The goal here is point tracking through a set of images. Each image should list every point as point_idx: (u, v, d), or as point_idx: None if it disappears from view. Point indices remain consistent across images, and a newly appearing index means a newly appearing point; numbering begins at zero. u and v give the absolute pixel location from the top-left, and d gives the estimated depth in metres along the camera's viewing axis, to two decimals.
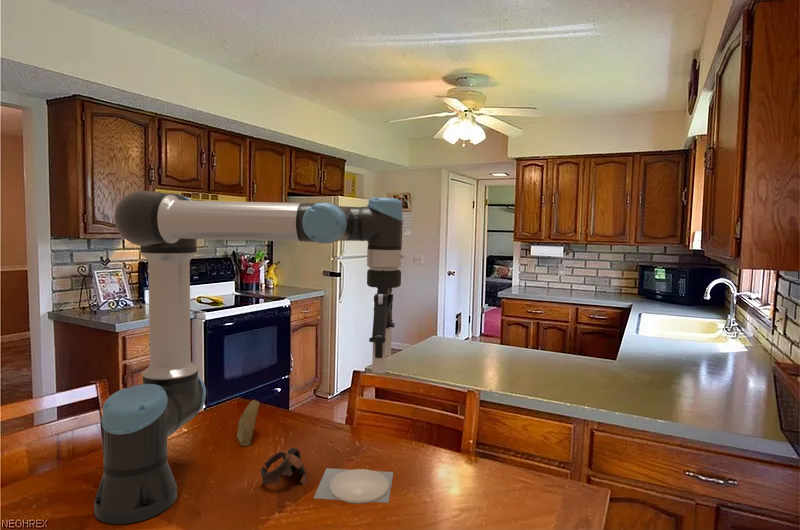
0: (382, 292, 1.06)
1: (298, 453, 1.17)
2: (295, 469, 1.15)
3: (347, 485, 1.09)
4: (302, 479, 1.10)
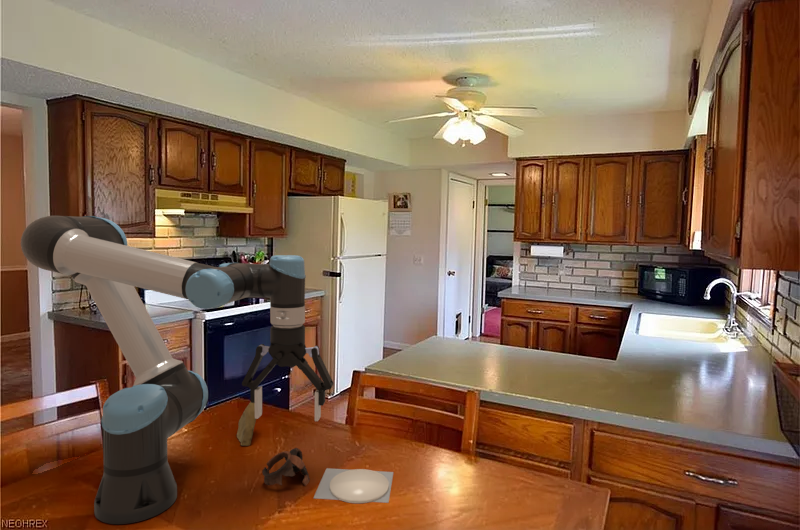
0: None
1: (300, 453, 1.17)
2: (297, 470, 1.15)
3: (347, 485, 1.09)
4: (304, 480, 1.10)
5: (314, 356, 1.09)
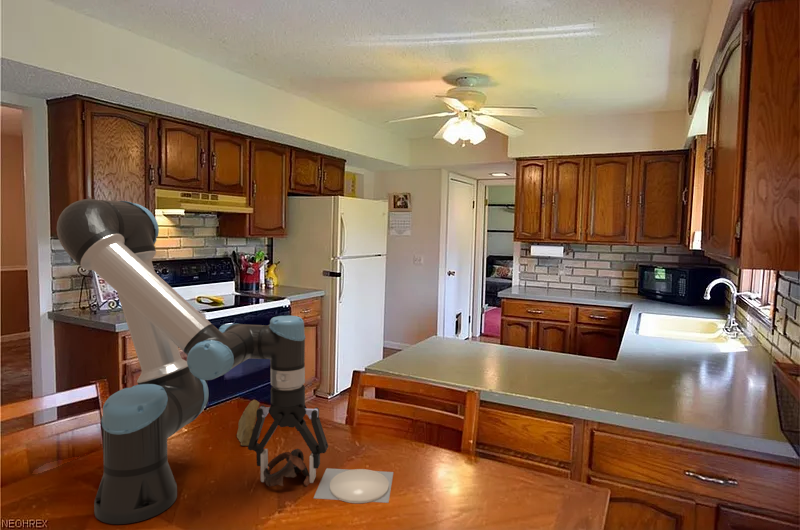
0: None
1: (301, 454, 1.17)
2: (298, 470, 1.15)
3: (347, 485, 1.09)
4: (305, 481, 1.10)
5: (313, 419, 1.10)
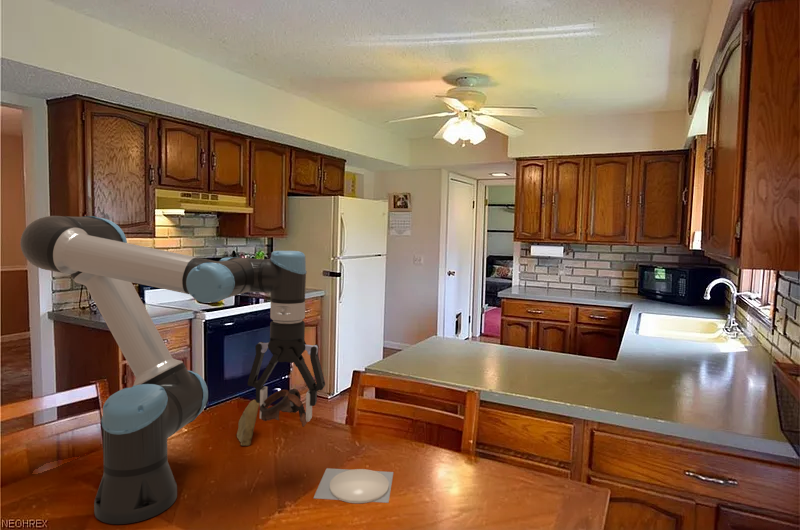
0: None
1: (298, 394, 1.16)
2: (295, 410, 1.14)
3: (347, 485, 1.09)
4: (302, 417, 1.09)
5: (312, 355, 1.09)
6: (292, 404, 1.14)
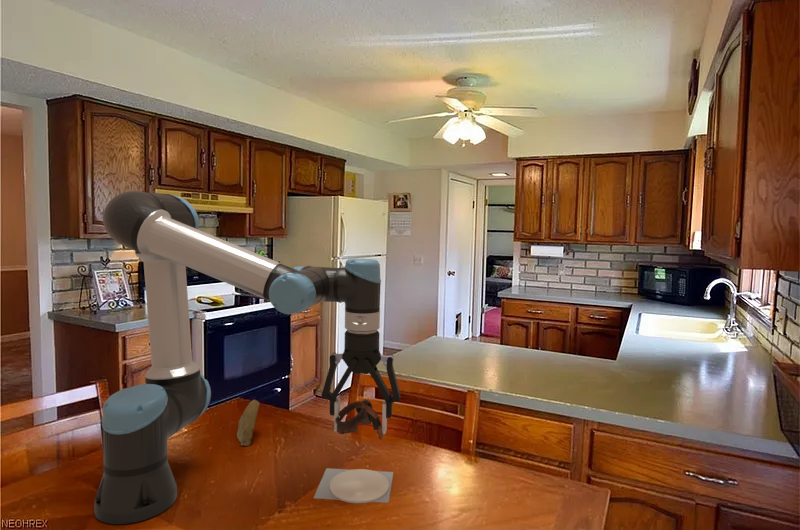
0: None
1: (370, 405, 1.13)
2: None
3: (347, 485, 1.09)
4: (379, 430, 1.06)
5: (389, 365, 1.06)
6: None
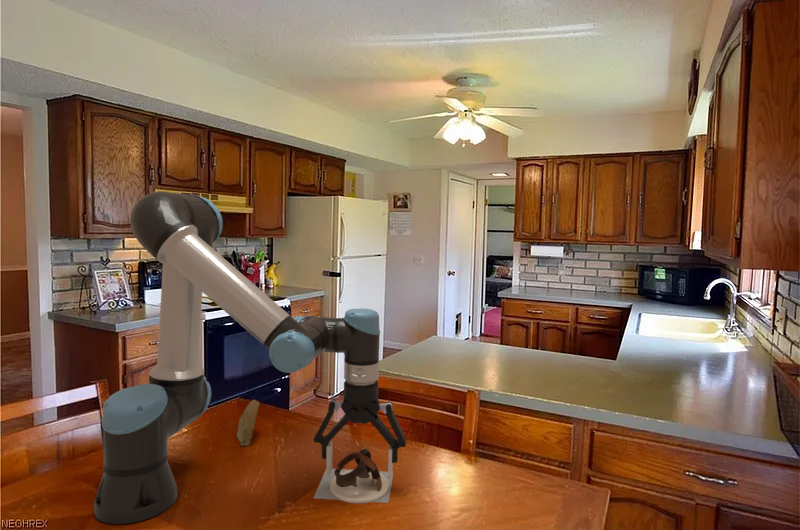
0: None
1: (369, 454, 1.14)
2: (367, 471, 1.12)
3: None
4: (378, 481, 1.06)
5: (388, 413, 1.07)
6: None
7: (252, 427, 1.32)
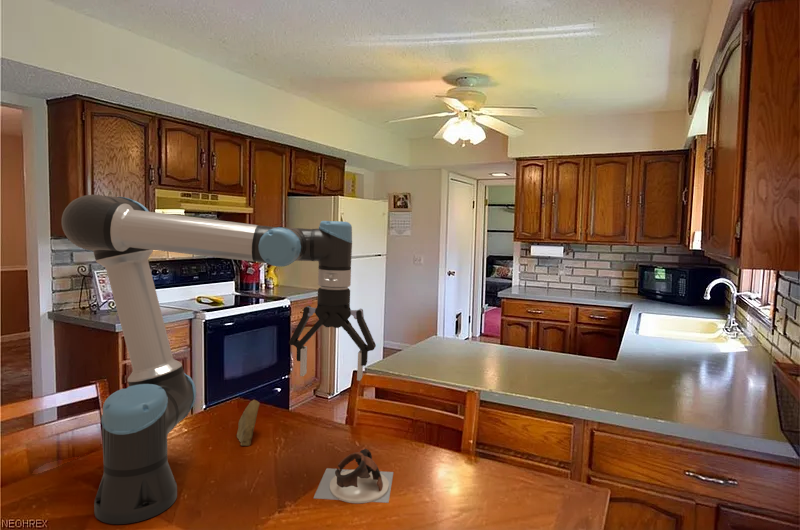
0: None
1: (370, 454, 1.14)
2: (367, 471, 1.12)
3: None
4: (378, 482, 1.06)
5: (358, 318, 1.14)
6: None
7: (252, 427, 1.32)
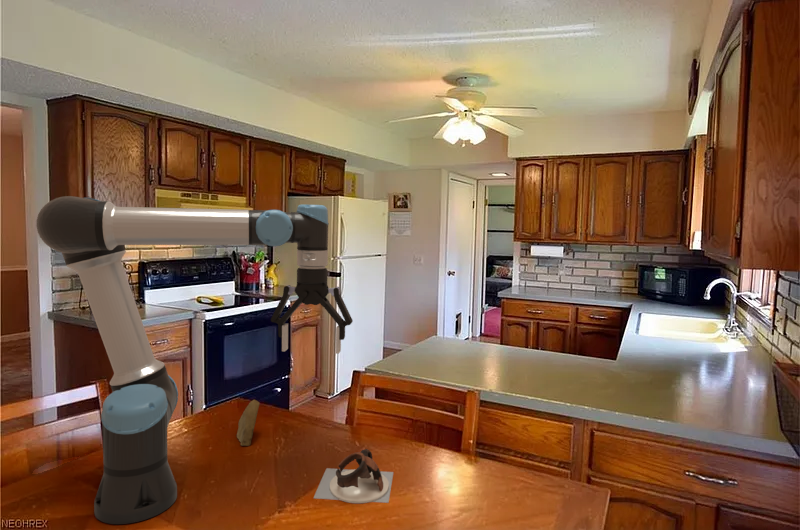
0: None
1: (370, 454, 1.13)
2: (368, 471, 1.12)
3: None
4: (379, 482, 1.06)
5: (336, 295, 1.22)
6: None
7: (252, 427, 1.32)
